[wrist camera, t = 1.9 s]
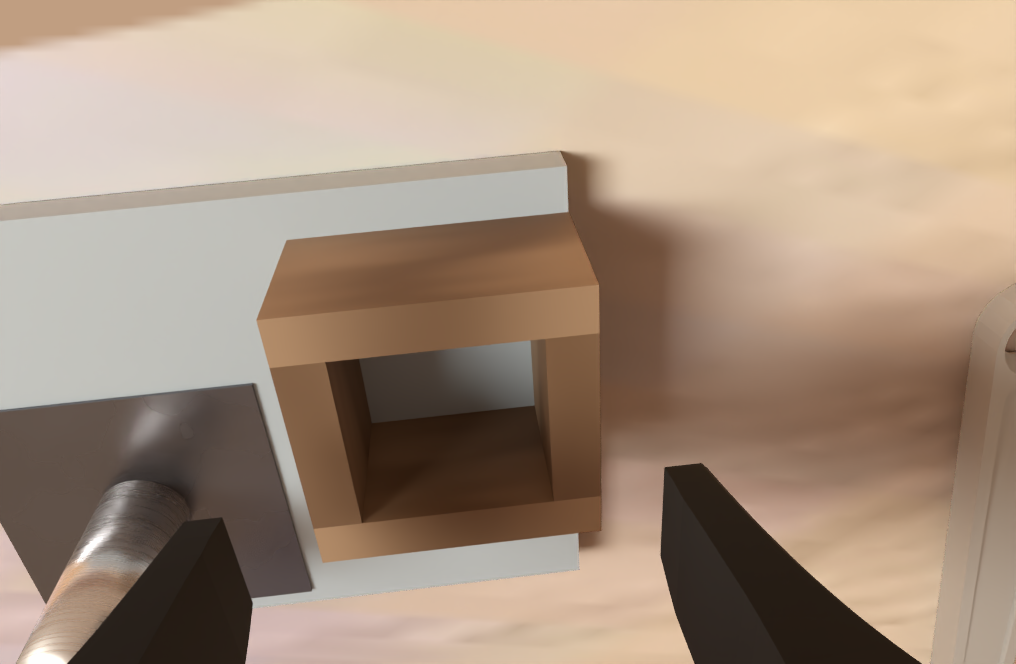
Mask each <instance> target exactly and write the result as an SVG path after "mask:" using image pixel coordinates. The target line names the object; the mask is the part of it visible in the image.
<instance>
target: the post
mask: <svg viewBox="0 0 1016 664" xmlns="http://www.w3.org/2000/svg"><path fill="white" fill-rule="evenodd" d="M219 517H222V518H223V521H224V523H225V526H226V529H227V532H228V535H229V537H230V540H231V543H232V546H233V549H234V551H235V554H236V557H237V560H238V563H239V566H240V568H241V571H242V574H243V577H244V580H245V582H246V585H247V588H248V591H249V594H250V596H251V599H252V598H260V597H269V596H277V595H286V594H294V593H303V592H311V591H312V585H311V582H310V578H309V575H308V572H307V568H306V565H305V561H304V558H303V554H302V551H301V547H300V544H299V541H298V537H297V534H296V530H295V527H294V523H293V520H292V517H291V513H290V510H289V506H288V503H287V499H286V496H285V492H284V489H283V486H282V482H281V479H280V475H279V472H278V468H277V465H276V462H275V458H274V455H273V451H272V448H271V444H270V441H269V437H268V434H267V431H266V427H265V424H264V420H263V417H262V413H261V410H260V407H259V403H258V400H257V396H256V393H255V389H254V386H253V383H247V384H238V385H229V386H219V387H210V388H201V389H191V390H182V391H173V392H163V393H154V394H144V395H135V396H126V397H116V398H107V399H98V400H88V401H79V402H70V403H60V404H51V405H41V406H32V407H23V408H13V409H4V410H0V523H1V524H2V526H3V528H4V530H5V532H6V533H7V535H8V537H9V539H10V541H11V542H12V544H13V546H14V548H15V550H16V551H17V553H18V555H19V557H20V558H21V560H22V562H23V564H24V566H25V567H26V569H27V571H28V573H29V575H30V576H31V578H32V580H33V582H34V584H35V585H36V587H37V589H38V591H39V592H40V594H41V596H42V598H43V600H44V601H45V603H46V606H45V608H44V610H43V612H42V614H41V616H40V618H39V620H38V622H37V624H36V625H35V627H34V629H33V631H32V633H31V635H30V637H29V639H28V641H27V643H26V645H25V647H24V649H23V651H22V653H21V654H20V656H19V658H18V660H17V662H16V664H67V663H68V662H69V661H70V660H71V658H72V657H73V656H74V655H75V654H76V653H77V652H78V651H79V650H80V648H81V647H82V646H83V645H84V644H85V643H86V642H87V640H88V639H89V638H90V637H91V636H92V635H93V633H94V632H95V631H96V630H97V629H98V627H99V626H100V625H101V624H102V622H103V621H104V620H105V619H106V618H107V616H108V615H109V614H110V613H111V612H112V610H113V609H114V608H115V607H116V606H117V604H118V603H119V602H120V601H121V599H122V598H123V597H124V596H125V595H126V593H127V592H128V591H129V590H130V588H131V587H132V586H133V585H134V583H135V582H136V581H137V580H138V578H139V577H140V576H141V575H142V573H143V572H144V571H145V569H146V568H147V567H148V566H149V564H150V563H151V562H152V561H153V559H154V558H155V557H156V556H157V554H158V553H159V552H160V550H161V549H162V548H163V547H164V545H165V544H166V543H167V542H168V540H169V539H170V538H171V537H172V535H173V534H174V533H175V532H176V531H177V529H178V528H179V527H180V526H181V525H182V523H183V522H184V521H193V520H201V519H210V518H219Z"/></svg>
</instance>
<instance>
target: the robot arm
mask: <svg viewBox="0 0 1016 664" xmlns="http://www.w3.org/2000/svg"><path fill="white" fill-rule="evenodd" d="M661 559H662V563H663V567H664V571H665V575H666V579H667V583H668V587H669V591H670V595H671V598H672V602H673V606H674V610H675V613H676V616H677V619H678V621H679V624H680V627H681V629H682V632H683V635H684V637H685V640H686V642H687V645H688V648H689V650H690V653H691V655H692V658H693V661H694V663H695V664H921V663H920V662H919V661H917V660H916V659H915V658H913V657H912V656H910V655H909V654H908V653H906V652H905V651H903V650H902V649H901V648H899V647H898V646H897V645H895V644H894V643H893V642H891V641H890V640H889V639H887V638H886V637H885V636H883V635H882V634H881V633H880V632H878V631H877V630H876V629H874V628H873V627H872V626H871V625H869V624H868V623H867V622H865V621H864V620H863V619H862V618H861V617H859V616H858V615H857V614H856V613H854V612H853V611H852V610H851V609H850V608H848V607H847V606H846V605H845V604H844V603H842V602H841V601H840V600H839V599H838V598H837V597H835V596H834V595H833V594H832V593H831V592H830V591H829V590H827V589H826V588H825V587H824V586H823V585H822V584H821V583H820V582H818V581H817V580H816V579H815V578H814V577H813V576H812V575H811V574H810V573H808V572H807V571H806V570H805V569H804V568H803V567H802V566H801V565H800V564H799V563H798V562H797V561H796V560H795V559H794V558H792V557H791V556H790V555H789V554H788V553H787V552H786V551H785V550H784V549H783V548H782V547H781V546H780V545H779V544H778V543H777V542H776V541H775V540H774V539H773V538H772V537H771V536H770V535H769V534H768V533H767V532H766V531H765V530H764V529H763V528H762V527H761V526H760V525H759V524H758V523H757V522H756V521H755V520H754V519H753V518H752V517H751V515H750V514H749V513H748V512H747V511H746V510H745V509H744V508H743V507H742V506H741V505H740V504H739V503H738V502H737V501H736V500H735V498H734V497H733V496H732V495H731V494H730V493H729V492H728V491H727V490H726V489H725V487H724V486H723V485H722V484H721V483H720V482H719V481H718V480H717V478H716V477H715V476H714V475H713V474H712V473H711V472H710V471H709V469H708V468H707V467H705V466H704V465H703V464H702V463H699V464H690V465H681V466H672V467H665V471H664V492H663V513H662V534H661ZM252 607H253V602H252V599H251V596H250V594H249V591H248V588H247V585H246V582H245V580H244V577H243V574H242V571H241V568H240V566H239V563H238V560H237V557H236V554H235V551H234V549H233V546H232V543H231V540H230V537H229V535H228V532H227V529H226V526H225V523H224V521H223V518H222V517H219V518H210V519H201V520H193V521H184V522H183V523H182V525H181V526H180V527H179V528H178V529H177V531H176V532H175V533H174V534H173V535H172V537H171V538H170V539H169V540H168V542H167V543H166V544H165V545H164V547H163V548H162V549H161V550H160V552H159V553H158V554H157V556H156V557H155V558H154V559H153V561H152V562H151V563H150V564H149V566H148V567H147V568H146V569H145V571H144V572H143V573H142V575H141V576H140V577H139V578H138V580H137V581H136V582H135V583H134V585H133V586H132V587H131V588H130V590H129V591H128V592H127V593H126V595H125V596H124V597H123V598H122V599H121V601H120V602H119V603H118V604H117V606H116V607H115V608H114V609H113V610H112V612H111V613H110V614H109V615H108V616H107V618H106V619H105V620H104V621H103V622H102V624H101V625H100V626H99V627H98V629H97V630H96V631H95V632H94V633H93V635H92V636H91V637H90V638H89V639H88V640H87V642H86V643H85V644H84V645H83V646H82V647H81V648H80V650H79V651H78V652H77V653H76V654H75V655H74V656H73V657H72V658H71V660H70V661H69V662H68V663H67V664H245V661H246V654H247V647H248V640H249V632H250V624H251V615H252Z"/></svg>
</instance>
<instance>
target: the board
mask: <svg viewBox="0 0 1016 664" xmlns="http://www.w3.org/2000/svg"><path fill="white" fill-rule="evenodd" d="M563 212H568V183H567V165H566V163H565V161H564V159H563V157H562V154H561V152H560V151H555V152H544V153H534V154H524V155H513V156H503V157H492V158H482V159H472V160H461V161H451V162H440V163H430V164H420V165H409V166H399V167H389V168H378V169H368V170H357V171H347V172H337V173H326V174H316V175H305V176H295V177H285V178H274V179H264V180H253V181H243V182H233V183H222V184H212V185H202V186H191V187H181V188H170V189H160V190H150V191H139V192H129V193H118V194H108V195H98V196H87V197H77V198H66V199H56V200H46V201H35V202H25V203H14V204H4V205H0V410H4V409H13V408H23V407H32V406H41V405H51V404H60V403H70V402H79V401H88V400H98V399H107V398H116V397H126V396H135V395H144V394H154V393H163V392H173V391H182V390H191V389H201V388H210V387H219V386H229V385H238V384H247V383H253V386H254V389H255V393H256V396H257V400H258V403H259V407H260V410H261V413H262V417H263V420H264V424H265V427H266V431H267V434H268V437H269V441H270V444H271V448H272V451H273V455H274V458H275V462H276V465H277V468H278V472H279V475H280V479H281V482H282V486H283V489H284V492H285V496H286V499H287V503H288V506H289V510H290V513H291V517H292V520H293V523H294V527H295V530H296V534H297V537H298V541H299V544H300V547H301V551H302V554H303V558H304V561H305V565H306V568H307V572H308V575H309V578H310V582H311V585H312V591H311V592H303V593H294V594H286V595H277V596H269V597H260V598H252V602H253V607H252V609H253V608H261V607H270V606H278V605H287V604H295V603H304V602H312V601H320V600H329V599H337V598H346V597H354V596H363V595H371V594H379V593H388V592H396V591H405V590H413V589H422V588H430V587H439V586H447V585H455V584H464V583H472V582H481V581H489V580H498V579H506V578H514V577H523V576H531V575H540V574H548V573H557V572H565V571H574V570H579V540H578V533H575V534H567V535H558V536H550V537H541V538H532V539H524V540H515V541H507V542H498V543H490V544H481V545H472V546H464V547H455V548H447V549H438V550H430V551H421V552H412V553H404V554H395V555H387V556H378V557H370V558H361V559H352V560H344V561H335V562H327V563H323V562H322V558H321V555H320V551H319V547H318V544H317V540H316V536H315V533H314V529H313V526H312V522H311V518H310V515H309V511H308V507H307V504H306V500H305V496H304V493H303V489H302V485H301V482H300V478H299V474H298V471H297V467H296V463H295V460H294V456H293V453H292V449H291V445H290V442H289V438H288V434H287V431H286V427H285V423H284V420H283V416H282V412H281V409H280V405H279V401H278V398H277V394H276V391H275V387H274V383H273V380H272V376H271V372H270V369H269V365H268V361H267V358H266V354H265V350H264V347H263V343H262V339H261V336H260V332H259V329H258V325H257V321H256V320H257V317H258V314H259V312H260V309H261V306H262V304H263V301H264V298H265V296H266V293H267V290H268V288H269V285H270V282H271V280H272V277H273V274H274V272H275V269H276V267H277V264H278V261H279V259H280V256H281V253H282V251H283V248H284V245H285V243H286V240H292V239H302V238H312V237H322V236H332V235H342V234H352V233H362V232H372V231H382V230H392V229H402V228H412V227H422V226H432V225H442V224H452V223H462V222H472V221H483V220H493V219H503V218H513V217H523V216H533V215H543V214H553V213H563ZM359 361H360V366H361V371H362V376H363V381H364V386H365V391H366V396H367V401H368V406H369V411H370V416H371V421H372V423H379V422H388V421H397V420H406V419H415V418H425V417H434V416H443V415H452V414H461V413H470V412H479V411H488V410H498V409H507V408H516V407H525V406H534V405H535V404H534V389H533V373H532V357H531V342H530V341H521V342H511V343H502V344H492V345H483V346H474V347H464V348H455V349H445V350H436V351H426V352H417V353H408V354H398V355H389V356H379V357H370V358H360V359H359Z"/></svg>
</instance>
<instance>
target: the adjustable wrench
mask: <svg viewBox="0 0 1016 664" xmlns="http://www.w3.org/2000/svg"><path fill="white" fill-rule="evenodd" d="M1015 329H1016V284H1013V285H1012V286H1010V287H1008V288H1007V289H1005V290H1003V291H1002V292H1000V293H999V294H997V295H996V296H995V297H994V298H993V299H992V300H991V301H990V302H989V303H988V304H987V305H986V306H985V308H984V309H983V311H982V312H981V314H980V315H979V317H978V318H977V321H976V324H975V328H974V331H973V337H972V345H971V352H970V360H969V368H968V375H967V383H966V391H965V399H964V406H963V414H962V422H961V430H960V437H959V445H958V453H957V460H956V468H955V476H954V484H953V491H952V499H951V507H950V515H949V522H948V530H947V538H946V545H945V553H944V561H943V569H942V576H941V584H940V592H939V600H938V607H937V615H936V623H935V630H934V638H933V646H932V654H931V661H930V664H1014V662H1015V658H1016V352H1006V351H1005V348H1006V345H1007V342H1008V339H1009V337H1010V336H1011V334H1012V333H1013V332H1014V330H1015Z"/></svg>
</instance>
